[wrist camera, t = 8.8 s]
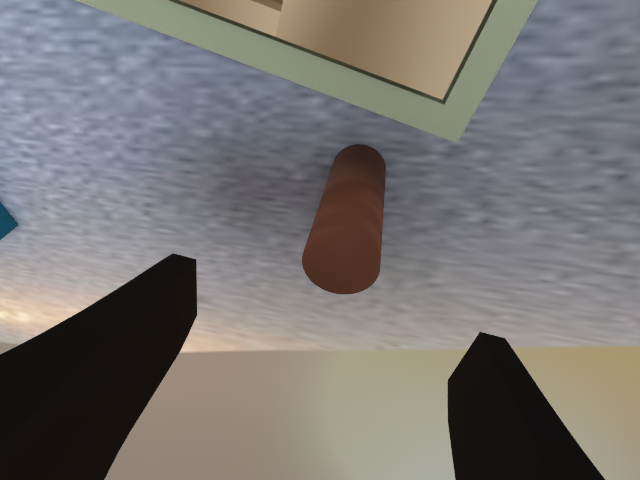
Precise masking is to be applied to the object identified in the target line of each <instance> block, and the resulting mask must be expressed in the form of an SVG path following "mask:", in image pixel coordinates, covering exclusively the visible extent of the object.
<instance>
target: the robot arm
mask: <svg viewBox="0 0 640 480" xmlns="http://www.w3.org/2000/svg"><path fill="white" fill-rule="evenodd" d="M196 316H197V281H196V259H192V258H188V257H184V256H181V255H177V254H171V255H169V256H168V257H166V258H165V259H163V260H161V261H160V262H158V263H157V264H155V265H154V266H152V267H151V268H149V269H148V270H146V271H145V272H143V273H141V274H140V275H138V276H137V277H135V278H134V279H132V280H131V281H129V282H128V283H126V284H124V285H123V286H121V287H120V288H118V289H117V290H115V291H113V292H112V293H110V294H108V295H107V296H105V297H104V298H102V299H100V300H99V301H97V302H96V303H94V304H92V305H91V306H89V307H87V308H86V309H84V310H82V311H81V312H79V313H77V314H75V315H73V316H72V317H70V318H68V319H66V320H65V321H63V322H61V323H59V324H58V325H56V326H54V327H52V328H50V329H49V330H47V331H45V332H43V333H41V334H40V335H38V336H36V337H34V338H32V339H30V340H28V341H26V342H24V343H23V344H21V345H19V346H17V347H15V348H13V349H11V350H9V351H7V352H5V353H3V354H0V480H104V479H105V477H106V475H107V473H108V471H109V469H110V467H111V465H112V463H113V461H114V459H115V457H116V455H117V453H118V452H119V450H120V448H121V446H122V444H123V443H124V441H125V439H126V438H127V436H128V434H129V432H130V431H131V429H132V428H133V426H134V424H135V423H136V421H137V420H138V418H139V416H140V415H141V413H142V412H143V410H144V408H145V407H146V405H147V404H148V402H149V400H150V399H151V397H152V396H153V394H154V392H155V391H156V389H157V388H158V386H159V384H160V383H161V381H162V380H163V378H164V376H165V375H166V373H167V371H168V370H169V368H170V367H171V365H172V363H173V362H174V360H175V359H176V357H177V355H178V354H179V352H180V350H181V348H182V346H183V344H184V342H185V340H186V338H187V336H188V334H189V331H190V329H191V327H192V325H193V323H194V320H195V318H196ZM448 424H449V432H450V440H451V448H452V456H453V463H454V470H455V478H456V480H605V479H604V478H603V476H602V475H601V474H600V472H599V471H598V470H597V469H596V467H595V466H594V465H593V463H592V462H591V461H590V459H589V458H588V457H587V455H586V454H585V453H584V451H583V450H582V449H581V447H580V446H579V445H578V443H577V442H576V441H575V439H574V438H573V436H572V435H571V434H570V432H569V431H568V430H567V428H566V427H565V425H564V424H563V422H562V421H561V419H560V418H559V417H558V415H557V414H556V412H555V411H554V410H553V408H552V407H551V405H550V404H549V402H548V401H547V399H546V398H545V397H544V395H543V393H542V392H541V391H540V389H539V388H538V386H537V385H536V383H535V382H534V380H533V379H532V377H531V376H530V374H529V373H528V371H527V370H526V368H525V367H524V365H523V364H522V362H521V361H520V359H519V358H518V357H517V355H516V354H515V352H514V351H513V349H512V348H511V346H510V345H509V344H508V342H507V341H506V339H505V338H502V337H498V336H494V335H490V334H486V333H482V332H480V333H479V334H478V336H477V337H476V339H475V340H474V342H473V343H472V345H471V346H470V348H469V349H468V351H467V352H466V354H465V355H464V357H463V358H462V360H461V361H460V363H459V364H458V366H457V367H456V369H455V371H454V372H453V373H452V375H451V376H450V378H449V379H448Z"/></svg>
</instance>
